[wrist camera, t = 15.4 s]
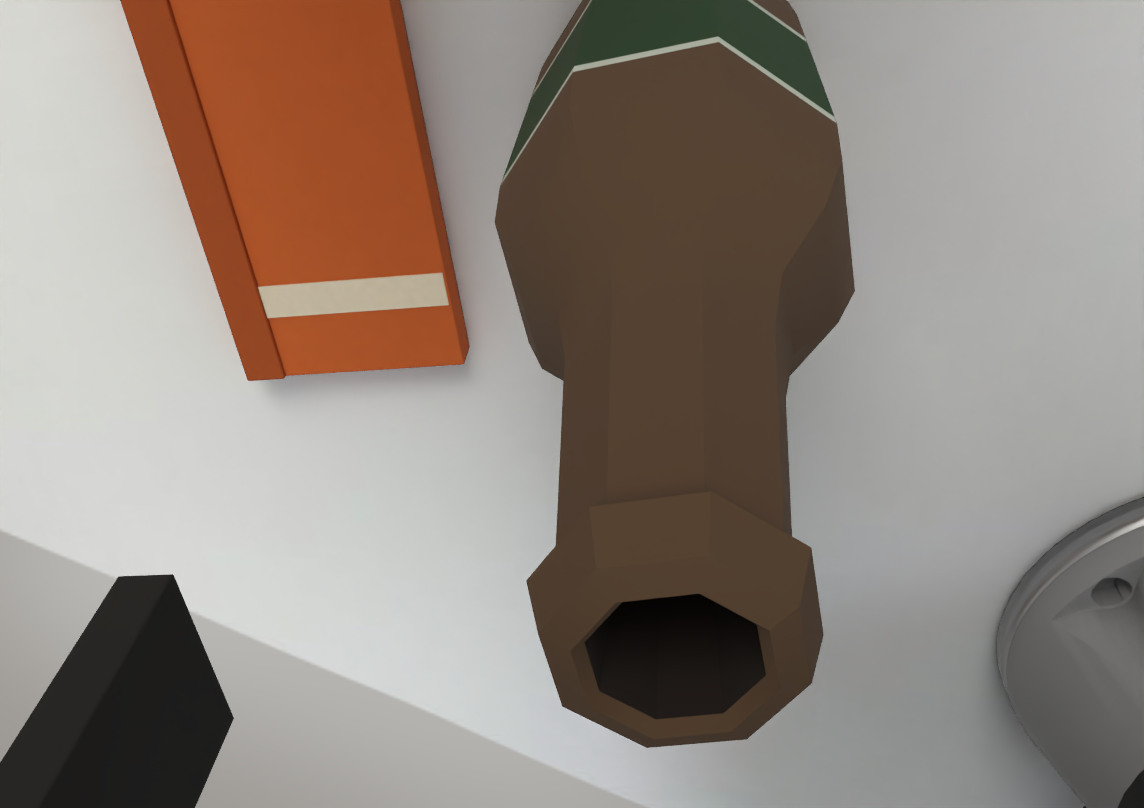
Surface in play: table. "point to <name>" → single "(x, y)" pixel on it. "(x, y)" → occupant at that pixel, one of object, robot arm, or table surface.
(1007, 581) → the table surface
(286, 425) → the table surface
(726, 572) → the beer bottle
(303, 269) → the towel
